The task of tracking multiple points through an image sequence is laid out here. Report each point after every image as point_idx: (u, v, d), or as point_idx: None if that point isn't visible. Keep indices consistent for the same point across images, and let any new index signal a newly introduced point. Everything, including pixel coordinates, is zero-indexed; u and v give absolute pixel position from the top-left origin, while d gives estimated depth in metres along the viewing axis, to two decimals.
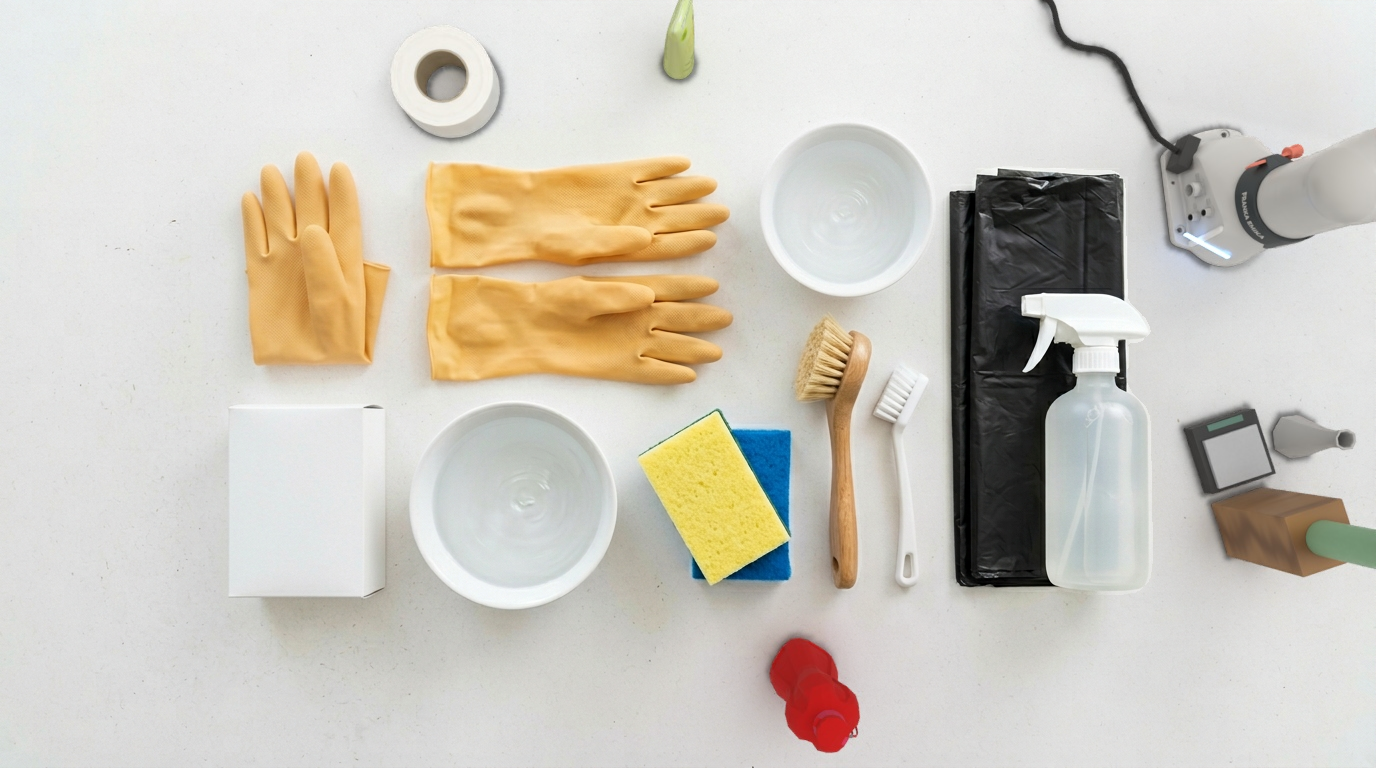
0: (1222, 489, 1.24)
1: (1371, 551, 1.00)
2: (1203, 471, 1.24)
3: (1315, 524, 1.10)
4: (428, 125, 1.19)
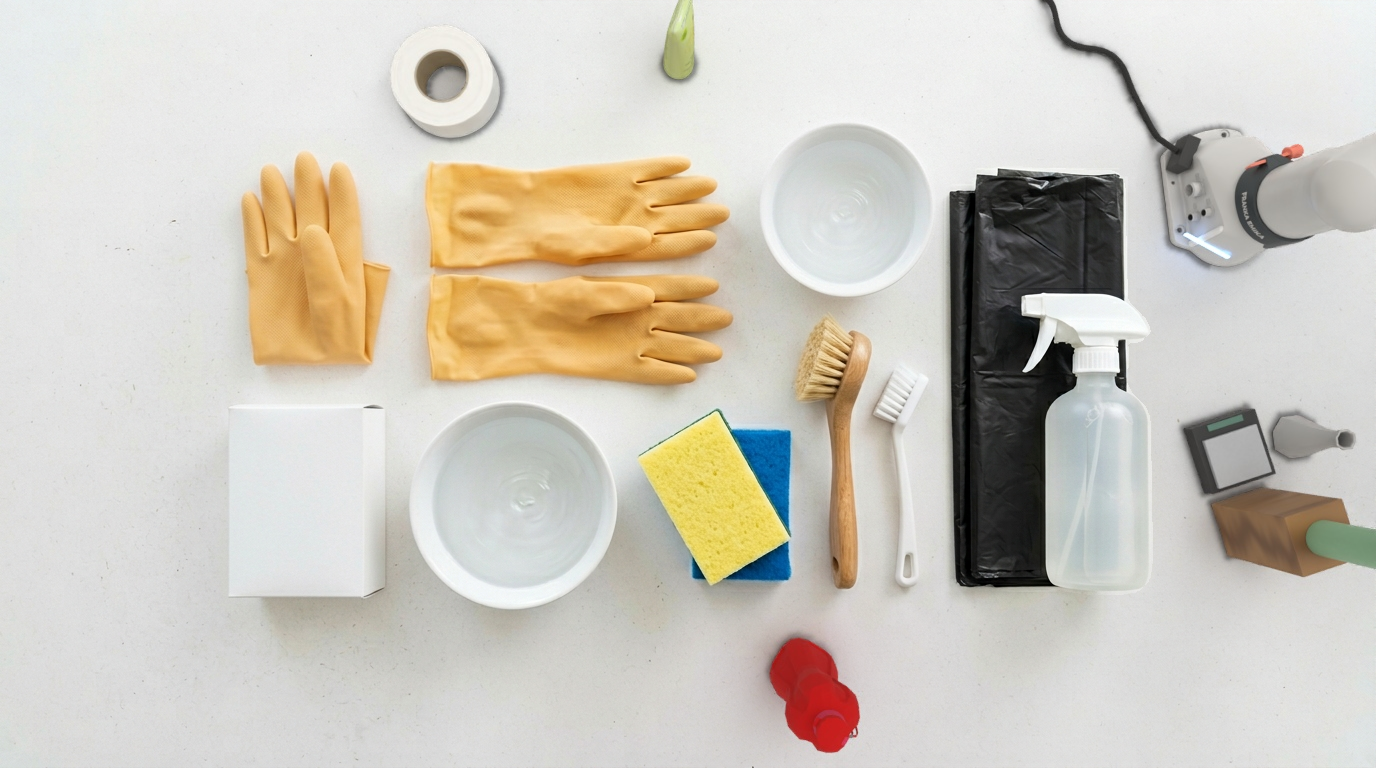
0: (1222, 489, 1.24)
1: (1371, 551, 1.00)
2: (1203, 471, 1.24)
3: (1315, 524, 1.10)
4: (428, 125, 1.18)
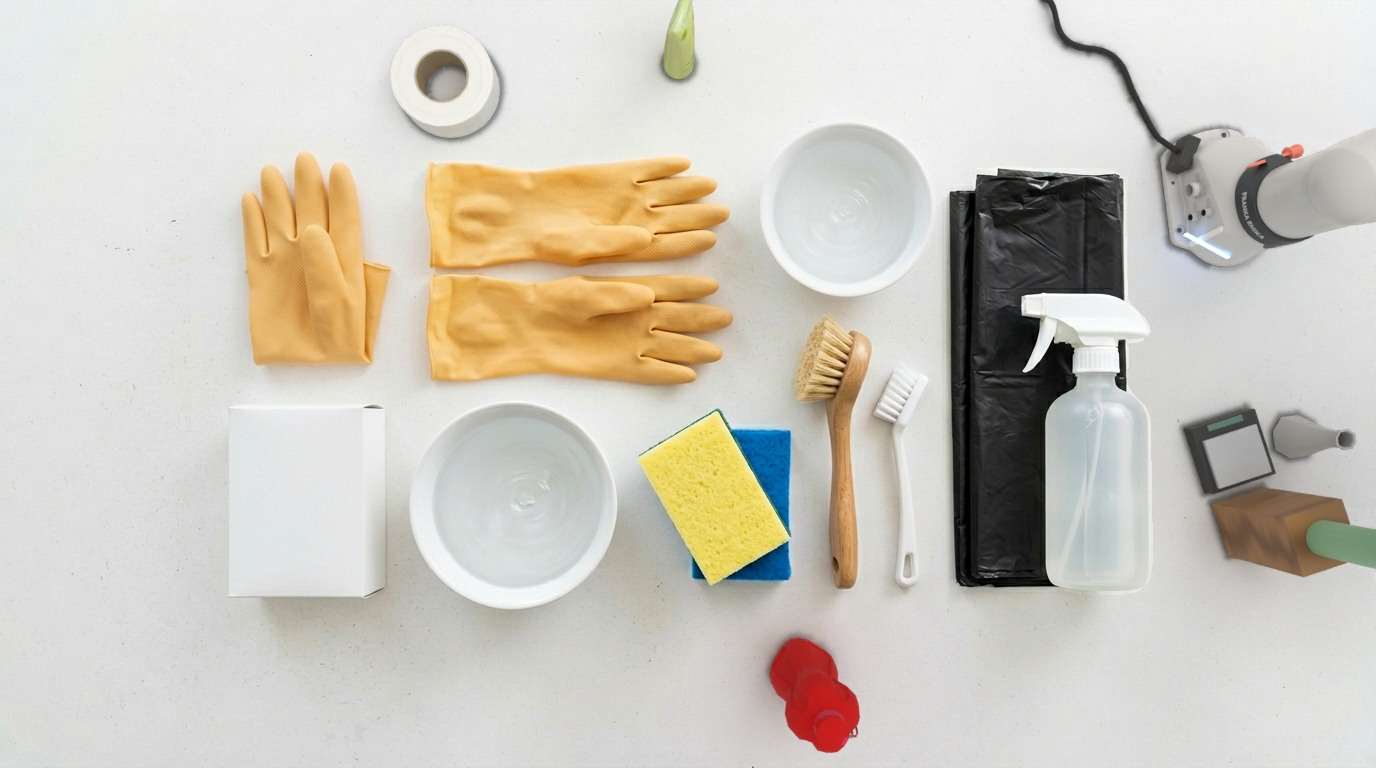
0: (1222, 489, 1.24)
1: (1371, 551, 1.00)
2: (1203, 471, 1.24)
3: (1316, 524, 1.10)
4: (428, 125, 1.18)
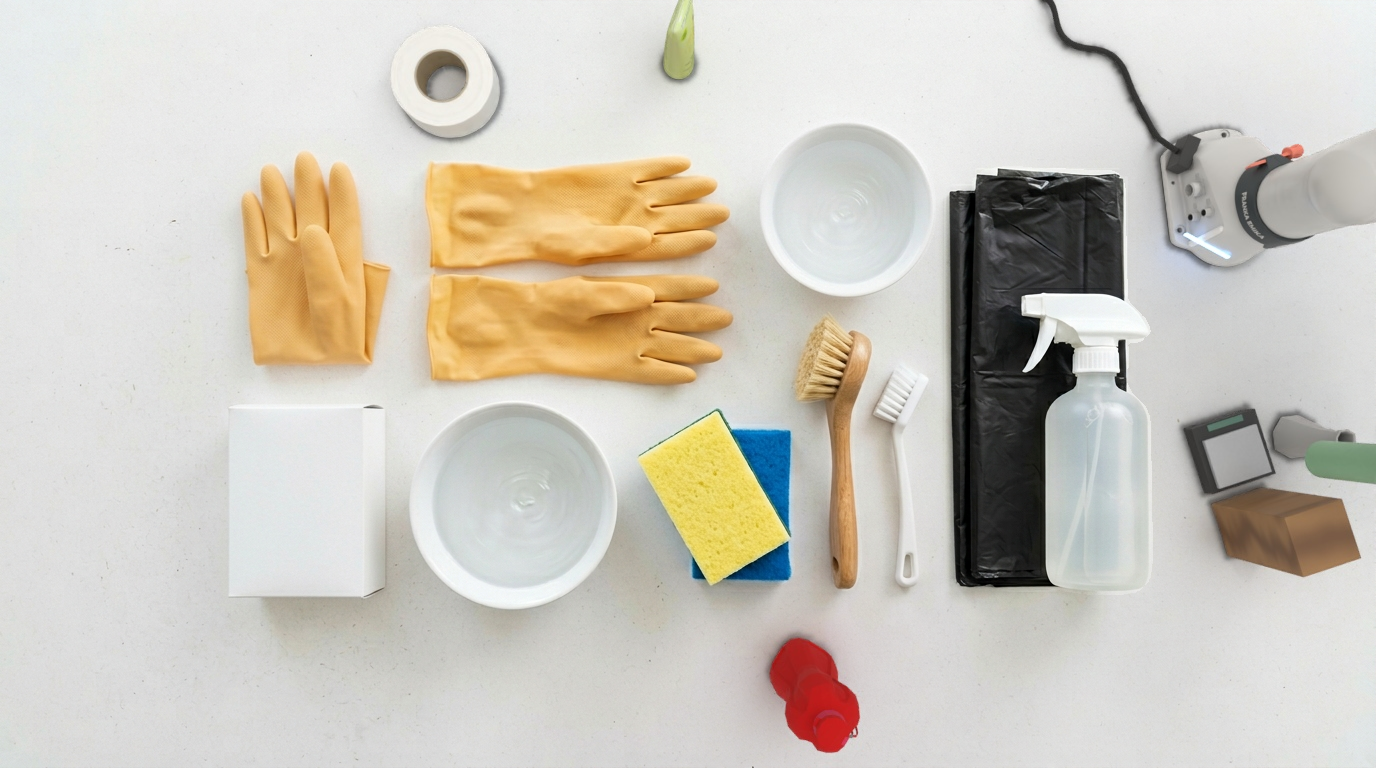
0: (1222, 489, 1.24)
1: (1372, 464, 0.97)
2: (1203, 471, 1.24)
3: (1315, 444, 1.07)
4: (428, 125, 1.18)
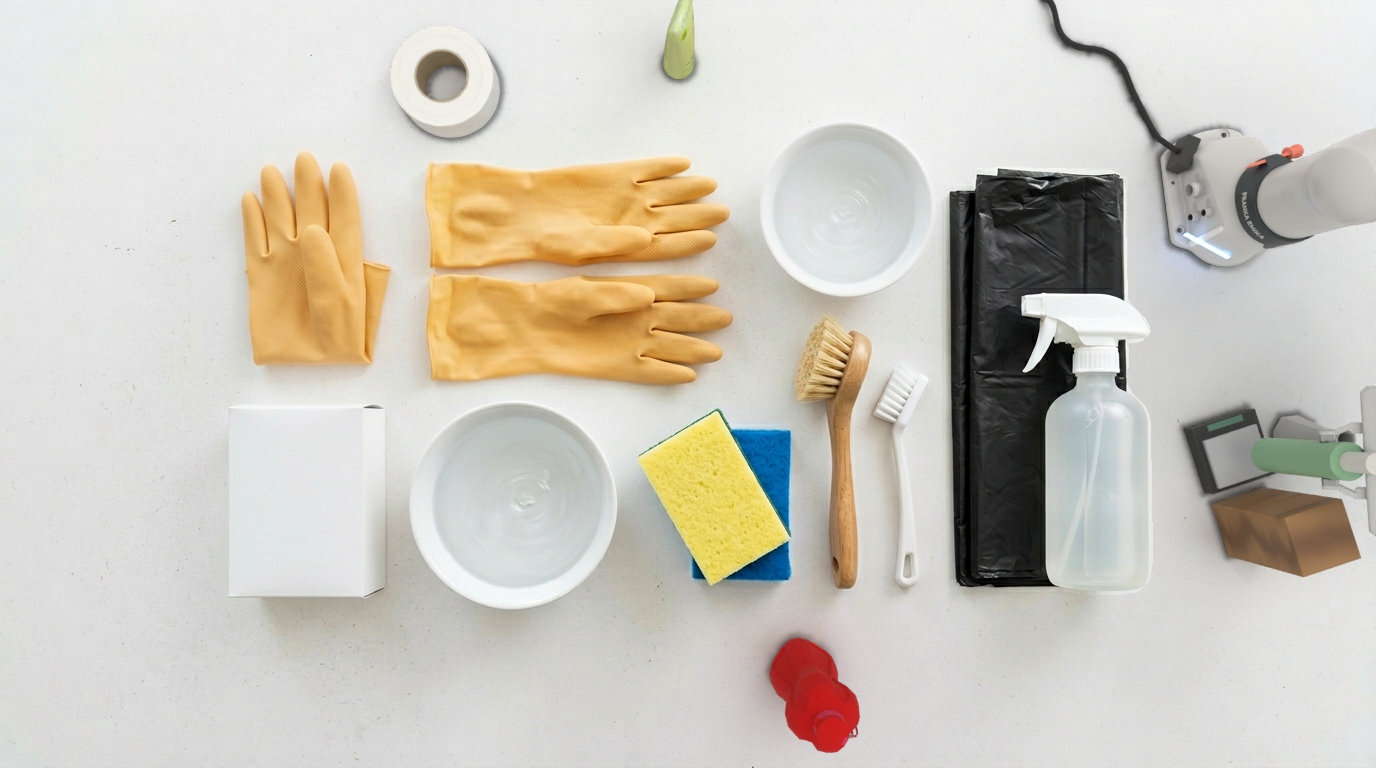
0: (1222, 489, 1.24)
1: (1307, 458, 1.07)
2: (1203, 471, 1.24)
3: (1260, 440, 1.16)
4: (428, 125, 1.18)
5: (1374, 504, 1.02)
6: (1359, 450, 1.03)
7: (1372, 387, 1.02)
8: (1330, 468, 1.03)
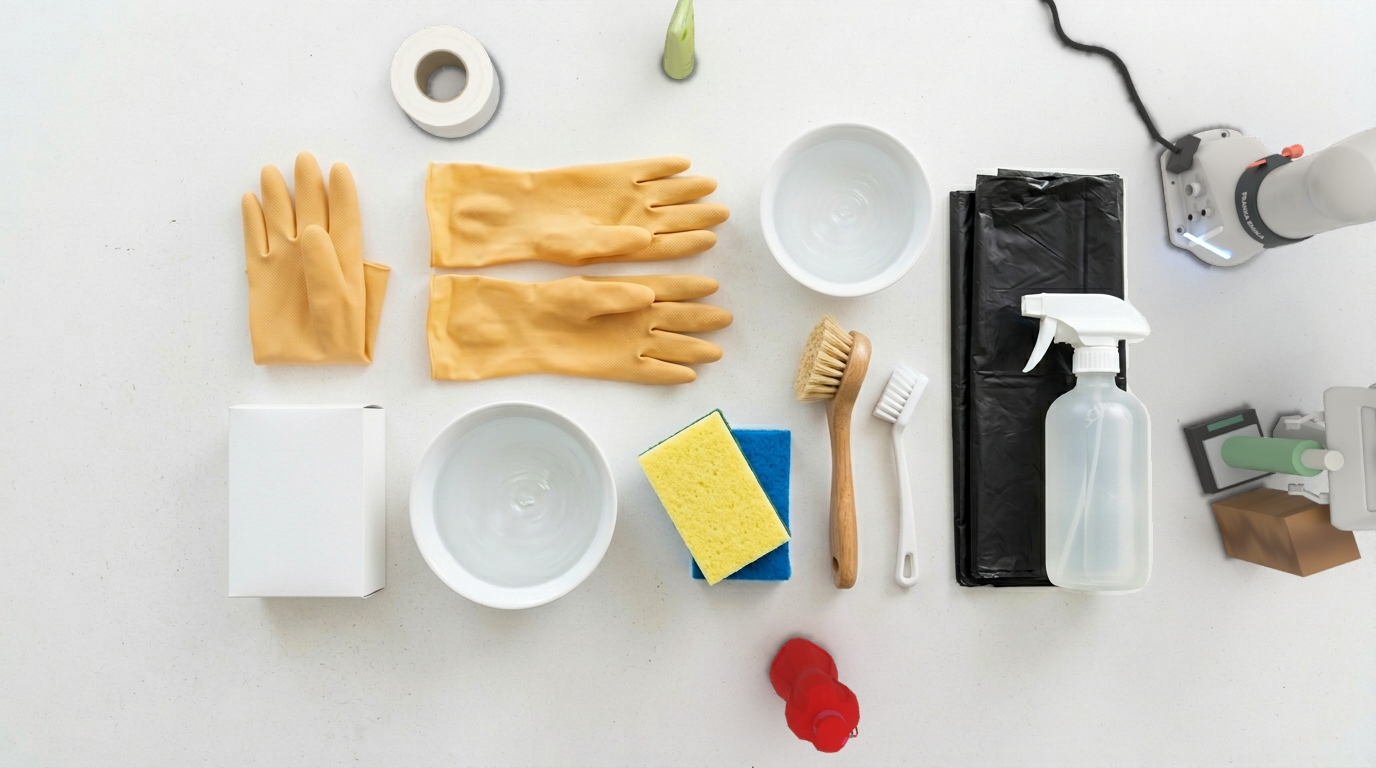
0: (1222, 489, 1.24)
1: (1271, 455, 1.13)
2: (1203, 471, 1.24)
3: (1230, 438, 1.23)
4: (428, 125, 1.18)
5: (1336, 498, 1.07)
6: (1319, 447, 1.09)
7: (1334, 387, 1.07)
8: (1292, 464, 1.09)
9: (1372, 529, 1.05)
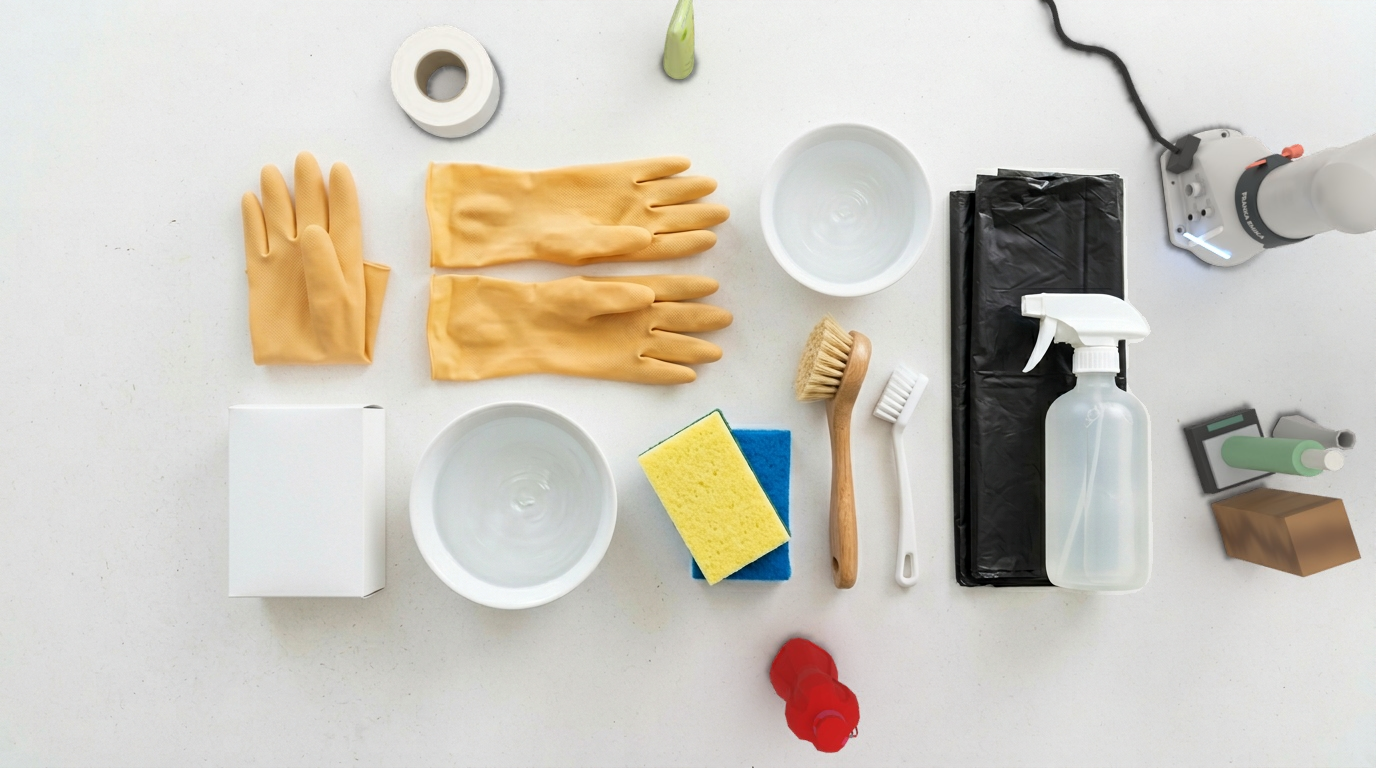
0: (1222, 489, 1.24)
1: (1271, 455, 1.13)
2: (1203, 471, 1.24)
3: (1230, 438, 1.23)
4: (428, 125, 1.18)
5: None
6: (1319, 447, 1.09)
7: None
8: (1292, 464, 1.09)
9: None
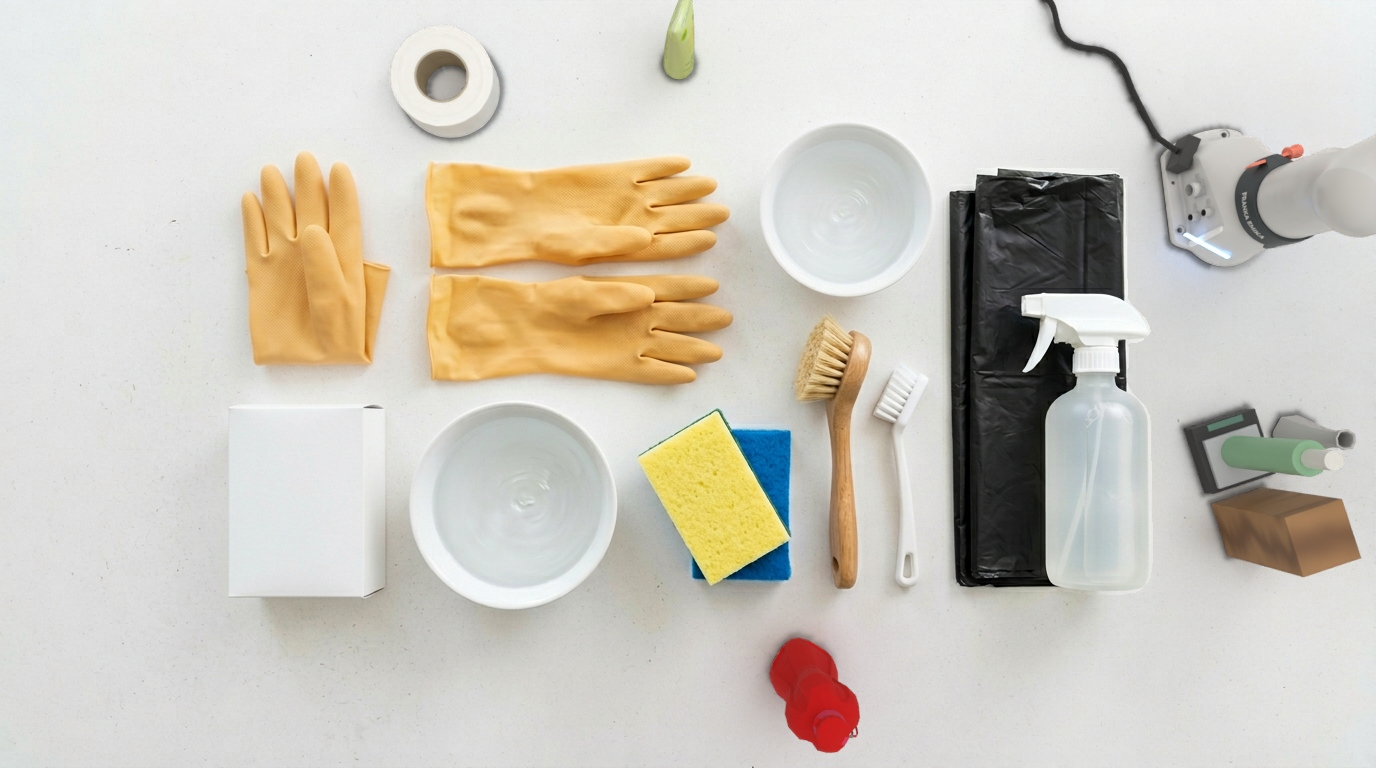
0: (1222, 489, 1.24)
1: (1271, 455, 1.13)
2: (1203, 471, 1.24)
3: (1230, 438, 1.23)
4: (428, 125, 1.18)
5: None
6: (1319, 447, 1.09)
7: None
8: (1292, 464, 1.09)
9: None
